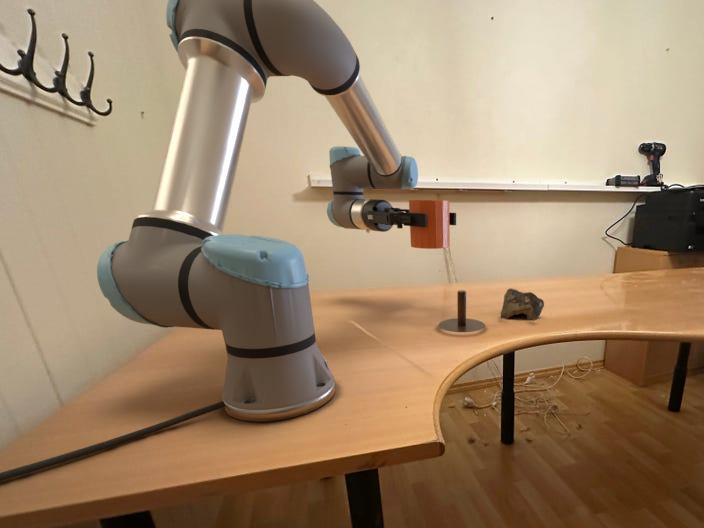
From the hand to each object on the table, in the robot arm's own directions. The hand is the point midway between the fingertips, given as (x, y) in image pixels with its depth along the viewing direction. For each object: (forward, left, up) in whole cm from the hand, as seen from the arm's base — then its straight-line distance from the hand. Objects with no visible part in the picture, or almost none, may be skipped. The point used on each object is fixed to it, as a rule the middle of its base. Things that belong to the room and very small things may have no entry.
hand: (441, 219), depth 89 cm
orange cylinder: (-1, +3, -6) cm, 7 cm away
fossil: (+20, -6, -24) cm, 32 cm away
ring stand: (+2, -5, -24) cm, 25 cm away
